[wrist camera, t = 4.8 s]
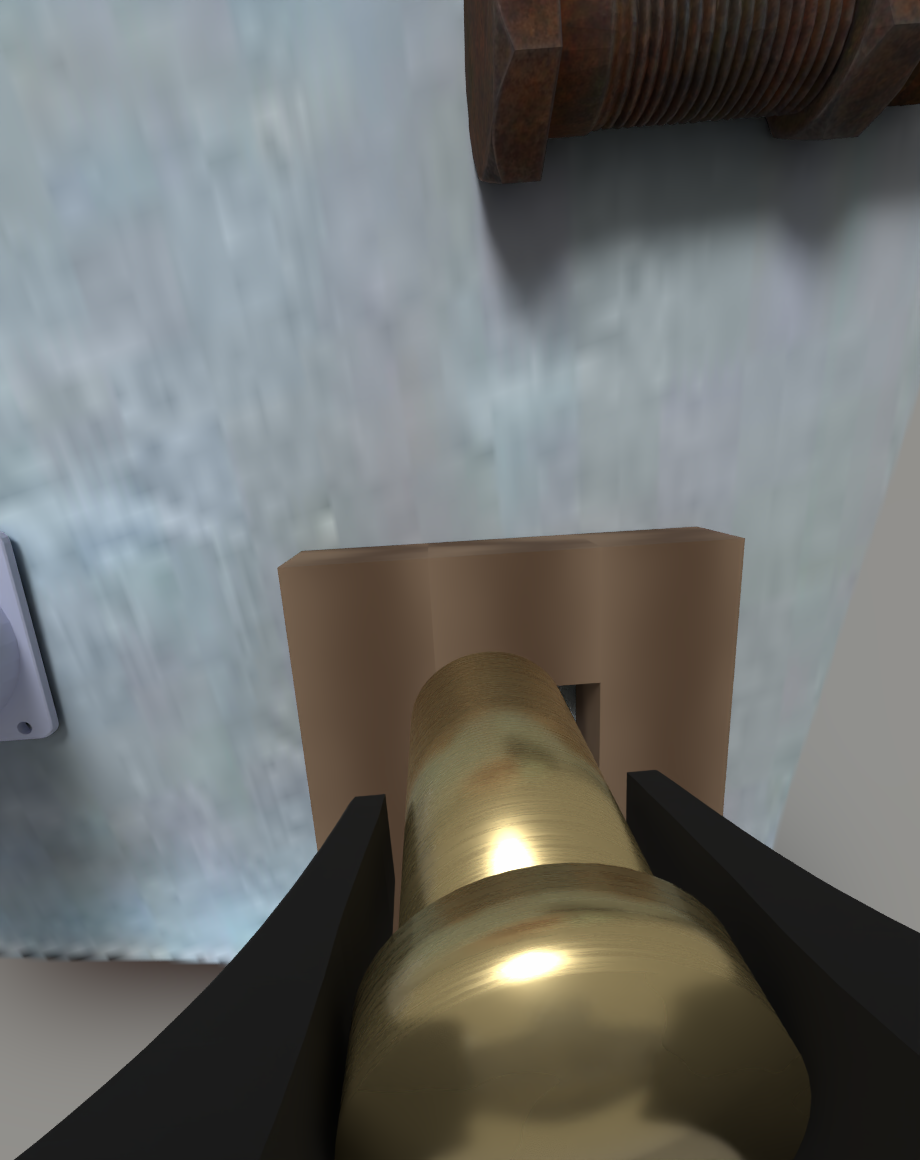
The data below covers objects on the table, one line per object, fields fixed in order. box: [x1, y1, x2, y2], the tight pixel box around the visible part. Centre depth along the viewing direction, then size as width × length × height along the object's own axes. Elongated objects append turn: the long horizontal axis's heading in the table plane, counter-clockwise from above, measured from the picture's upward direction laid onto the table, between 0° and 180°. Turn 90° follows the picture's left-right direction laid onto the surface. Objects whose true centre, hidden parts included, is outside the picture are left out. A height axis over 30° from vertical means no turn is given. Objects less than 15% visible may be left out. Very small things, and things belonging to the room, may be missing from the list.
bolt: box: [464, 0, 920, 184], centre depth 14 cm, size 6×5×15 cm
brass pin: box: [335, 652, 811, 1160], centre depth 9 cm, size 5×5×8 cm
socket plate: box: [278, 527, 745, 934], centre depth 19 cm, size 15×15×3 cm
